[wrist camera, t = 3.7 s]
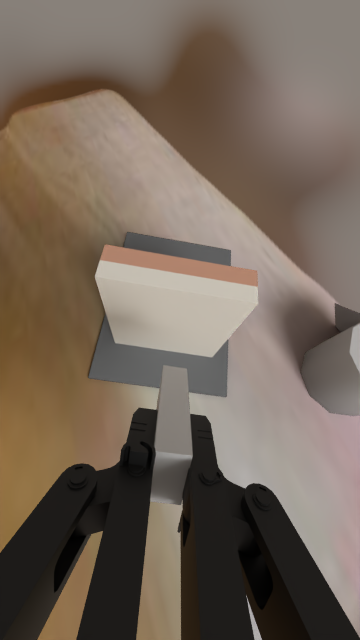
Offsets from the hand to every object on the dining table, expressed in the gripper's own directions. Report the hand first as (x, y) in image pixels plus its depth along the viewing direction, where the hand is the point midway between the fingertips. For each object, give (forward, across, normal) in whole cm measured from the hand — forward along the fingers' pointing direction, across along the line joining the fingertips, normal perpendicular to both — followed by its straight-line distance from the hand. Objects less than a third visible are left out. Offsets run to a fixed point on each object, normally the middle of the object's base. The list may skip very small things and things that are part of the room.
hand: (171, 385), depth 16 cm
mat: (+19, -1, 0) cm, 19 cm away
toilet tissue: (+16, +22, -4) cm, 27 cm away
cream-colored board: (+15, 0, -4) cm, 16 cm away
